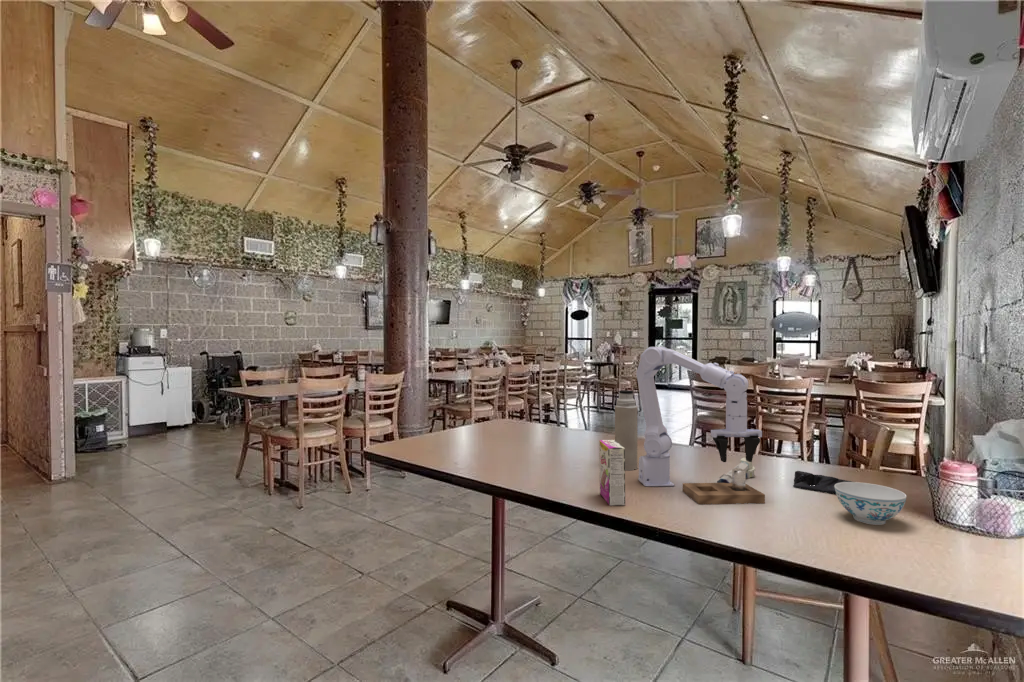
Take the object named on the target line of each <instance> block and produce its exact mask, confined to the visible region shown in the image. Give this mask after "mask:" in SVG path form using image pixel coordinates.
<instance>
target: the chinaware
mask: <svg viewBox="0 0 1024 682" xmlns="http://www.w3.org/2000/svg"><path fill="white" fill-rule="evenodd" d="M834 487H835V492H836V494H835V495H836V496H837V499H838V502H840V504H841V505H842V507H843V508H844V509H845V510H846V511H847V512H848V513H850V514H851V515H852V518H853V519H854V520H855V521H857V522H859V523H863V524H867V525H874V526H883V525H885V524H886V521H888V520H891V519H892V518H895V517H896V516H897V515H899V513H901V511H902V510H903V508H904V506H905V504H906V502H907V494H906V493H905V492H903V491H901V490H899V489H896V488H894V487H893V488H892V487H890V486H886V485H882V484H875V483H868V482H859V481H852V482H841V483H837V484H835V485H834Z"/></svg>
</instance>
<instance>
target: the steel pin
mask: <svg viewBox="0 0 1024 682" xmlns="http://www.w3.org/2000/svg"><path fill="white" fill-rule="evenodd" d="M733 468H734V467H733ZM733 468H732V469H731V470H732V490H734V491H746V484H747V482H746V479H747V478H746V471H745V470H744V469H739V468H734V469H733Z"/></svg>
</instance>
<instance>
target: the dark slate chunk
mask: <svg viewBox="0 0 1024 682" xmlns="http://www.w3.org/2000/svg"><path fill="white" fill-rule="evenodd" d="M841 482H853V480H852V481H851V480H845V479H840V478H838V477H834V476H827V475H823V474H813V473H811V472H806V471H800V470H795V471H794V479H793V485H792V486H793V487H794V488H795V487H796V488H795V489H802V488H803V490H807V489H808V491H812V490H814V491H813V492H818V491H820V492H819V493H824V492H829V493H828V494H833V493H834V495H836V492H835V487H834V485H835V484H837V483H841ZM810 485H811V486H810ZM813 485H815V486H813Z"/></svg>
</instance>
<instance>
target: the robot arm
mask: <svg viewBox="0 0 1024 682" xmlns="http://www.w3.org/2000/svg"><path fill="white" fill-rule="evenodd" d="M639 358H640V361H639V363H638V366H637V370H636V373H635V375H636V380H637V385H638V390H639V394H640V395H639V396H640V399H641V400H640V401H641V406H642V410H643V415H644V421H645V427H646V428H645V431H644V442H643V443H644V444H643V448H644V449H643V450H644V451H645V453H646V454H645V455H640V456H639V458H638V479H637V480H638V481H639V482H640V483H641V484H642V485H643V486H644V487H673V486H674V487H675V483H673V482H672V481H671V476H670V474H671V473H670V472H671V471H670V469H671V466H670V465H671V459H670V458H671V456H670V455H671V454H670V452H669V450H671V448H672V446H673V441H672V438H671V436H670V435H669V434H668V430H667V428H666V426H665V425H664V423H663V418H662V413H661V407H660V403H659V397H658V393H657V387H656V383H655V378H654V376H656V374H657V373H658V371H659V370H660V369H662V368H663V367H665V366H667V365H672V364H674V365H678V366H679V367H682V368H684V369H687V370H690V371H692V372H694V373H697V374H699V376H700V378H701V379H702V380H703V381H704V382H706V383H709V384H711V385H713V386H716V387H717V388H720V389H723V390H724V391H725V392H726V394H725V395H726V396H725V397H726V399H725V428H719V429H718V428H717V429H711V430H710V437H712V440H713V442H714V444H715V445H716V448H717V450H718V454H719V456H720V457H719V458H720V461H721V462H723V463H726V462H727V454H728V453H727V449H728V443H729V440H728V439H726V438H743V439H744V444H745V458H746V461H748V462H752V463H753V458H754V455H755V452H756V450H757V448H758V446H759V445H760V443H761V438H763V430H761V429H752V428H751V429H749V428H748V400H747V399H748V395H747V390H748V388H749V380H748V379H747V378H746V377H745V376H744V375H742V373H735V371H734V370H732V369H731V370H728V369H726V368H724V367H721V366H720V364H719V363H718V362H713V363H712V362H707V363H702V362H700V361H698V360H696V359H694V358H691V357H690V356H688V355H686V354H683V353H681V352H679V351H678V350H674V349H673V348H667V347H666V346H663V345H662V346H661V345H660V346H649V347H647V348H646V349H645V350H644V351H643V352H642V353H641V354H640V356H639Z"/></svg>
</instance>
